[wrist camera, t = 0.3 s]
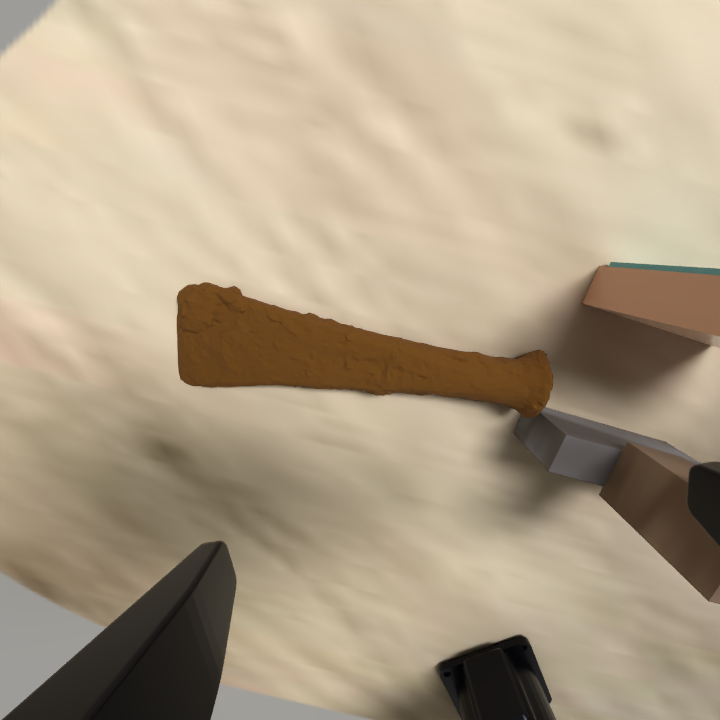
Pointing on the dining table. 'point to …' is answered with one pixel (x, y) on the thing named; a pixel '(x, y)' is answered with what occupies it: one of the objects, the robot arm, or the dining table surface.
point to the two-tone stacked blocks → (631, 486)
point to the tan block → (661, 297)
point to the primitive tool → (337, 355)
